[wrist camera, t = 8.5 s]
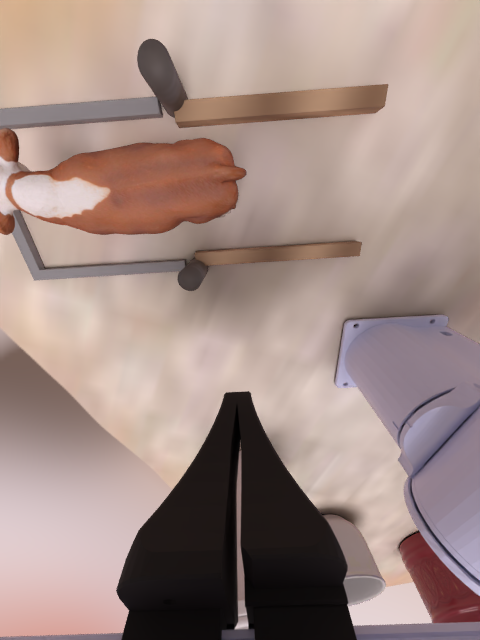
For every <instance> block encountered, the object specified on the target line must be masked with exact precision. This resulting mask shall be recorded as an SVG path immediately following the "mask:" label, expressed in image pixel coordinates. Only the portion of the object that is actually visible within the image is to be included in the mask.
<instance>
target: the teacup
mask: <svg viewBox="0 0 480 640" xmlns="http://www.w3.org/2000/svg"><path fill="white" fill-rule="evenodd" d="M323 516H324V518H325V519H326V520H327V521H328V523H329V524H330V526H331V528H332V530H333V532H334V534H335V536H336V538H337V540H338V542H339V544H340V547H341V549H342V551H343V554H344V556H345V559H346V562H347V565H348V571H347V574H346V576H345V579H344V582H343V584H344V588H345V591H346V595H347V598H348V604H347V606H352V605H356V604H360V603H363V602H364V601H368V600H370V599H372V598H374V597H376V596H378V595H379V594H381V593H382V592H383V591H384V589H385V587H386V584H385V581H384V579H383V578H382V576H381V574H380V572H379V570H378V568H377V565H376V563H375V561H374V558H373V556H372V554H371V552H370V550H369V548H368V545H367V543H366V541H365V539H364V537H363V536H362V534H361V532H360V531H359V530H358V528H357V527H356V526H355V525H354V524H352V523H351V522H349V521H347V520H345V519H344V518H342V517H340V516H338V515H331V514H330V515H323Z"/></svg>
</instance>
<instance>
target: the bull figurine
mask: <svg viewBox="0 0 480 640" xmlns="http://www.w3.org/2000/svg"><path fill="white" fill-rule="evenodd" d="M18 158H19V142H18V137H17V135H16V134H15V132H14V131H12V130H10V129H9V128H3V129H1V130H0V233H2V234H4V235H8V234H10V233H12V232H13V230H14V228H15V218H14V216H13V211H14V210H21V211H24V212H26V213H28V214H30V215H32V216H34V217H37V218H39V219H41V220H44V221H47V222H50V223H55V224H60V225H68V226H71V227H74V228H77V229H80V230H83V231H86V232H89V233H93V234H100V235H107V234H115V233H117V234H131V235H132V234H158V233H163V232H166V231H169V230H171V229H173V228H175V227H176V226H178V225H179V224H180V223H181V222H183V221H189V222H192V223H195V224H201V223H206V222H208V221H210V220H212V219H214V218H218V217H224V216H225V215H226V214H228V213H230V212H231V209H234V208H235V207H236V205H235V204H236V203H237V200H238V189H237V185H236V180H239V179H242V178H243V177H245V175H246V170H245V169H243V168H239V167H236V166H235V165H234V160H233V156H232V154H231V152H230V151H229V149H228V148H227V147H225V146H223V145H221V144H218V143H216V142H214V141H212V140H210V139H205V138H199V139H193V140H181V141H178V142H176V143H174V144H168V143H157V144H152V143H136V144H132V145H128V146H123V147H118V148H113V149H108V150H103V151H97V152H90V153H81V154H77V155H74V156H72V157H71V158H69V159H68V160H66V161H63V162H61V163H60V164H59V165H58V166H57V167H55V168H54V169H51V170H48V171H36V172H32V171H30V170H29V169H28V168H27V167H26V166H24V165H23V164H21V163H19V162H18Z"/></svg>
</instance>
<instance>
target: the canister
mask: <svg viewBox="0 0 480 640" xmlns="http://www.w3.org/2000/svg"><path fill="white" fill-rule="evenodd" d="M399 551H400V553H401V556H402V560H403V563H404V564H405V567H406V569H407V570H408V572H409V573H410V575H411V577H412V579H413V581H414V583H415V585H416V588H417V590H418V592H419V594H420V596H421V598H422V600H423V602H424V604H425V606H426V608H427V610H428V613H429V615H430V617H431V619H432V623H459V622H480V596H479V595H477V594H476V593H475V592H474V591H473V590H471V589H470V588H469V587H468V586H467V585H465V584H464V583H463V582H462V581H461V580H460V579H459V578H458V577H457V576H456V575H455V574H454V573H453V572H451V570H450V569H449V568H448V567H447V566H446V565H445V564H444V563H443V562H442V561H441V560H440V559H439V557H438V556H437V555H436V554H435V552H434V551H433V550H432V549H431V547H430V546H429V545H428V543H427V542H426V540H425V539H424V538H423V536H422V535H421V533H420V532H418V533H416V534H414V535H412V536H410V537H408V538H407V539H405V540H404V541H403V542H402V543H401V545H400V548H399Z"/></svg>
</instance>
